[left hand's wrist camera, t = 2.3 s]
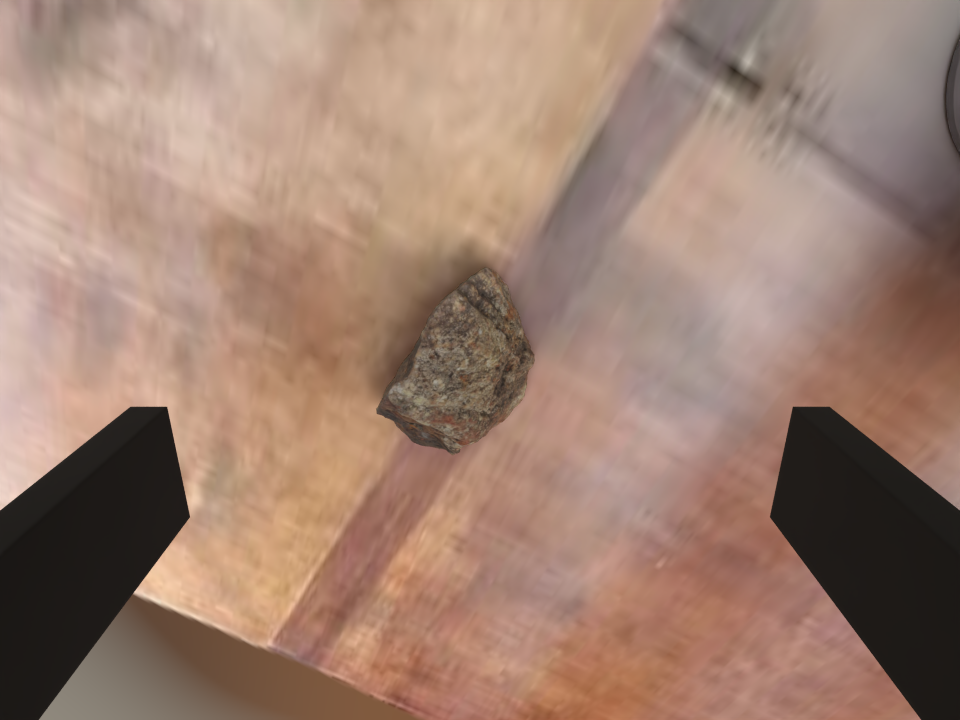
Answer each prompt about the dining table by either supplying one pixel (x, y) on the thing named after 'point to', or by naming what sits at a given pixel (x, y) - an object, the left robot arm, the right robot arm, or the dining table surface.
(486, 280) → the rock
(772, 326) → the dining table surface
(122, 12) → the dining table surface
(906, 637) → the left robot arm
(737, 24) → the dining table surface
